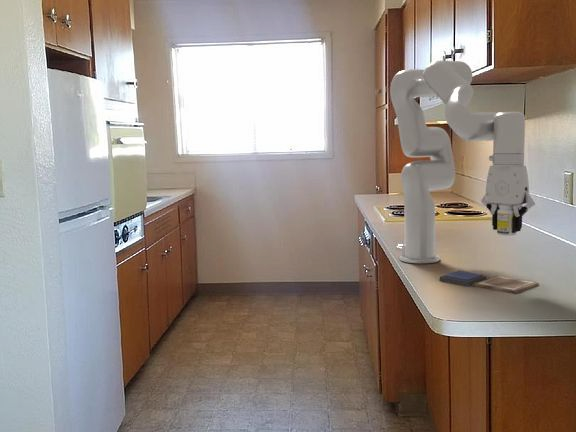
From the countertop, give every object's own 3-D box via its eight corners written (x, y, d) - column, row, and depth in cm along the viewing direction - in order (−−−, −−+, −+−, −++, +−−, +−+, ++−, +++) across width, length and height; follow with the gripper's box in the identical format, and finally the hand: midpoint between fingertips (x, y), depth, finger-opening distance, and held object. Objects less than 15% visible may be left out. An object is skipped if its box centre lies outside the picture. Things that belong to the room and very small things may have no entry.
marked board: (473, 285, 162) (473, 283, 162) (496, 277, 170) (496, 275, 169) (515, 293, 153) (515, 291, 153) (538, 285, 161) (538, 282, 160)
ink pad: (439, 280, 168) (439, 275, 168) (458, 275, 174) (458, 269, 173) (468, 286, 161) (468, 280, 161) (486, 280, 167) (486, 274, 167)
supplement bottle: (511, 232, 162) (512, 201, 161) (519, 235, 157) (520, 203, 156) (494, 233, 162) (494, 201, 160) (500, 236, 157) (501, 203, 156)
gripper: (471, 160, 161) (470, 228, 163) (532, 161, 148) (530, 235, 150) (486, 159, 165) (485, 225, 168) (547, 160, 153) (545, 231, 155)
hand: (506, 229), depth 159 cm, fingers closed on supplement bottle, 4 cm apart
